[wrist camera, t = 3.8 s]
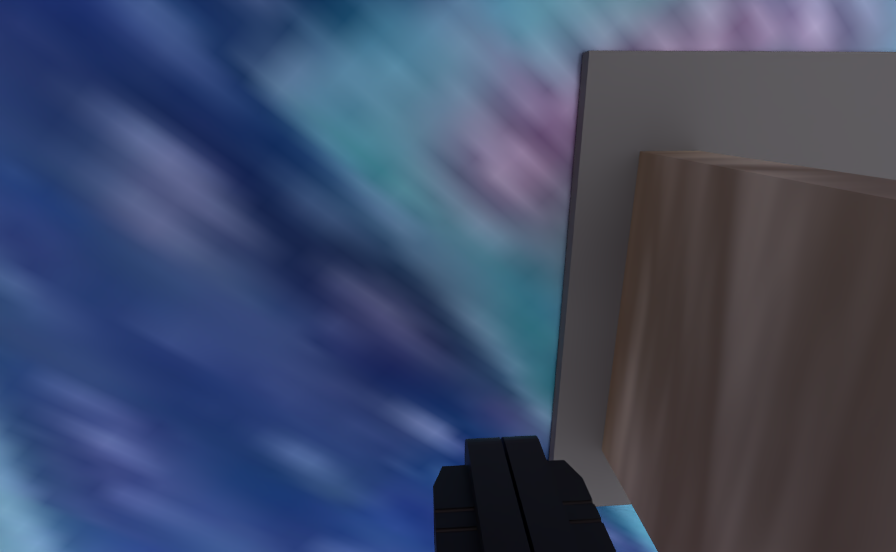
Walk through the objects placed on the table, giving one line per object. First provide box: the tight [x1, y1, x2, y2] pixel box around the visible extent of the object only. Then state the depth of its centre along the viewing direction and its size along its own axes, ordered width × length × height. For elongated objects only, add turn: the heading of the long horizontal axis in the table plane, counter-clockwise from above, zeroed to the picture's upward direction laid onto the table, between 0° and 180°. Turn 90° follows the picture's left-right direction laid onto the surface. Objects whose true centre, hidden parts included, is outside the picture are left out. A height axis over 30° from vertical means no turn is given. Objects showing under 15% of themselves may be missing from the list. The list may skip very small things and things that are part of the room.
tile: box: [602, 151, 896, 552], centre depth 12 cm, size 2×12×12 cm, turn 0°
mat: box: [549, 51, 896, 506], centre depth 18 cm, size 18×18×1 cm
